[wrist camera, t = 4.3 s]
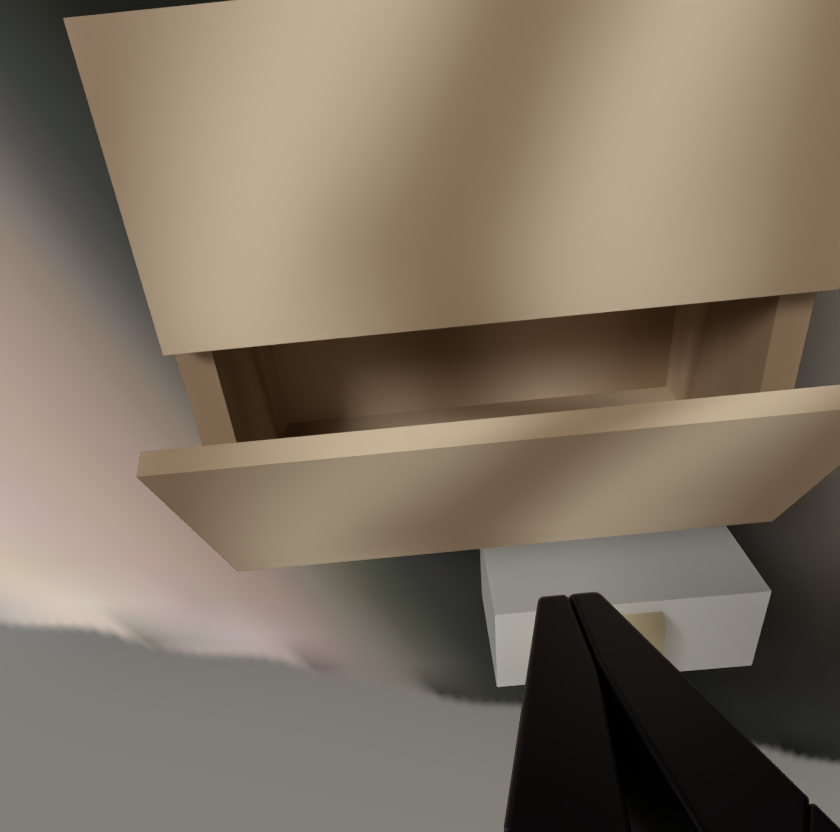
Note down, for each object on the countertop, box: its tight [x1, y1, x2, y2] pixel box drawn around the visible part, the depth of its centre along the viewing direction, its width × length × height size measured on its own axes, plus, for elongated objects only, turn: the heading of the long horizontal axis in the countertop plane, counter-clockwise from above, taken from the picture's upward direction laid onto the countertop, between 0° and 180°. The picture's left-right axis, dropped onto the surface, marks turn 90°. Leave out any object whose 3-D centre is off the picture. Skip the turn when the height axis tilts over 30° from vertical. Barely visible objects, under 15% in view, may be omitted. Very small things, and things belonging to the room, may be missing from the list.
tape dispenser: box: [480, 526, 771, 687], centre depth 23 cm, size 9×4×6 cm, turn 95°
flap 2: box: [137, 385, 840, 571], centre depth 14 cm, size 14×6×1 cm, turn 95°
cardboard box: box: [175, 292, 816, 446], centre depth 16 cm, size 14×12×6 cm
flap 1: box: [63, 0, 840, 355], centre depth 12 cm, size 14×6×1 cm, turn 95°
